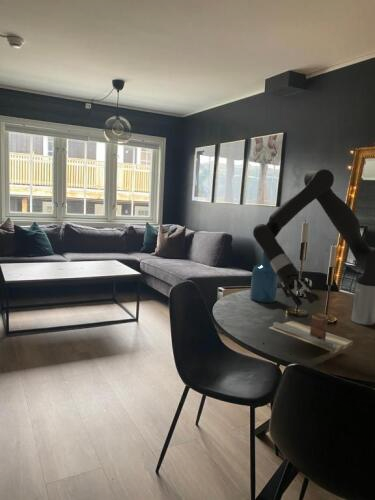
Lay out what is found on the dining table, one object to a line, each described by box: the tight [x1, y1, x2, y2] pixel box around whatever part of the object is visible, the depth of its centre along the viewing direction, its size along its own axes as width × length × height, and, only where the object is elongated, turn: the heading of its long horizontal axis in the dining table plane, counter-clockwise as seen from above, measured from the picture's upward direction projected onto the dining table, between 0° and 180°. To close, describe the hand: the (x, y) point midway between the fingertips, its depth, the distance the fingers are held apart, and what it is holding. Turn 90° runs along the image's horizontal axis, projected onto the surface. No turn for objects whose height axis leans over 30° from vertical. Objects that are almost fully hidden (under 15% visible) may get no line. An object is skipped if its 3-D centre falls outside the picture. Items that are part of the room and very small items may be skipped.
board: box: [268, 320, 354, 356], centre depth 144 cm, size 16×26×2 cm, turn 41°
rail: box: [272, 321, 335, 349], centre depth 140 cm, size 2×25×2 cm, turn 41°
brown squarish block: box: [310, 312, 329, 339], centre depth 139 cm, size 4×4×9 cm
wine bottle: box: [249, 250, 279, 304], centre depth 193 cm, size 14×13×30 cm
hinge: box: [296, 277, 313, 298], centre depth 213 cm, size 17×5×10 cm, turn 164°
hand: (306, 303), depth 142 cm, fingers open, 8 cm apart
